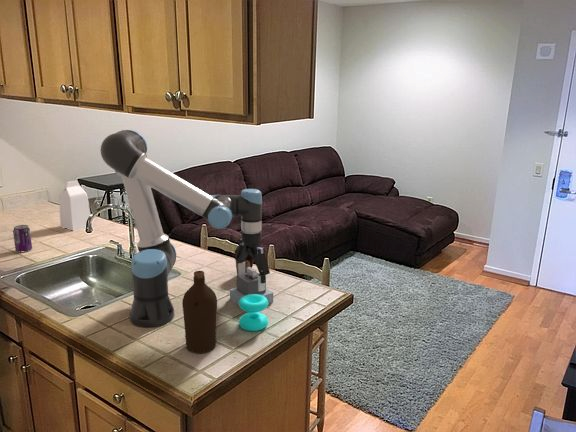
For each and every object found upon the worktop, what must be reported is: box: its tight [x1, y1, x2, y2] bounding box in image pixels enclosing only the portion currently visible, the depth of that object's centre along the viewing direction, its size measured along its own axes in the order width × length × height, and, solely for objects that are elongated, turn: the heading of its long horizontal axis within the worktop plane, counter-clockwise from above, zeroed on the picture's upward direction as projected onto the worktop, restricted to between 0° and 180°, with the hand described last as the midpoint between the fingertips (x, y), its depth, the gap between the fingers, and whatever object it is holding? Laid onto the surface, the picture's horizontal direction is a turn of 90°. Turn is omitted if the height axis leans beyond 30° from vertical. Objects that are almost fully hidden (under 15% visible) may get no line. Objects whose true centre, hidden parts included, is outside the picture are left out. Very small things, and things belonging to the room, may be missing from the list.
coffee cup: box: [234, 246, 254, 276], centre depth 207 cm, size 9×8×13 cm
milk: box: [58, 180, 91, 232], centre depth 268 cm, size 12×12×26 cm
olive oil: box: [181, 270, 218, 354], centre depth 150 cm, size 11×11×25 cm
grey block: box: [236, 271, 267, 295], centre depth 184 cm, size 8×8×6 cm
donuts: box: [238, 294, 269, 332], centre depth 166 cm, size 10×10×10 cm
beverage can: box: [12, 224, 33, 253], centre depth 232 cm, size 7×7×12 cm
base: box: [229, 287, 274, 305], centre depth 185 cm, size 12×12×4 cm
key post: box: [247, 267, 257, 280], centre depth 183 cm, size 2×4×9 cm, turn 38°
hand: (251, 284), depth 184 cm, fingers open, 13 cm apart
